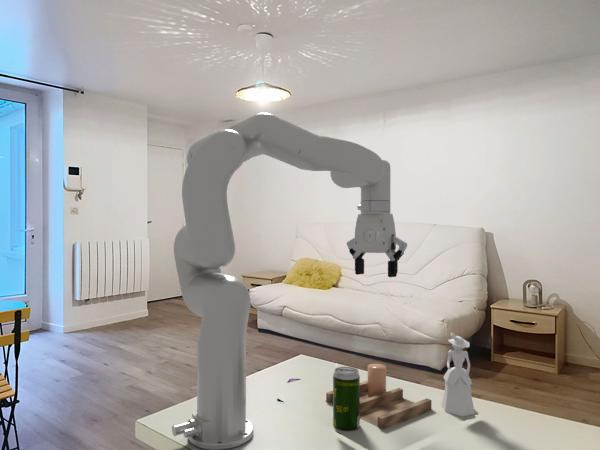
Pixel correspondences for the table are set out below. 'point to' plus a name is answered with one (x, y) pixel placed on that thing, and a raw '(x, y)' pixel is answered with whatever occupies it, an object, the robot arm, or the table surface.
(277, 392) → the table surface
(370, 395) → the peach rounded cylinder
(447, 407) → the figurine
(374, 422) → the rack
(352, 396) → the beer can
